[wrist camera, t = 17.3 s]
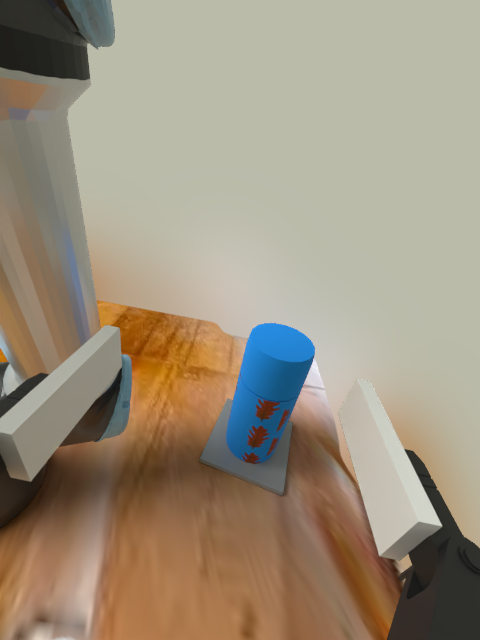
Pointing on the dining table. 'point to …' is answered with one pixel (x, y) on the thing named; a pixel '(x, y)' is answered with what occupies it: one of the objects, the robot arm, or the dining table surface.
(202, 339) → the dining table surface
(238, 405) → the thermos
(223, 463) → the slate tile
